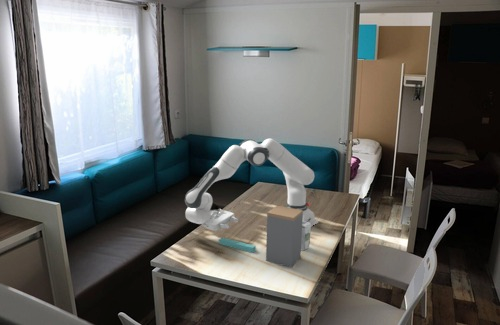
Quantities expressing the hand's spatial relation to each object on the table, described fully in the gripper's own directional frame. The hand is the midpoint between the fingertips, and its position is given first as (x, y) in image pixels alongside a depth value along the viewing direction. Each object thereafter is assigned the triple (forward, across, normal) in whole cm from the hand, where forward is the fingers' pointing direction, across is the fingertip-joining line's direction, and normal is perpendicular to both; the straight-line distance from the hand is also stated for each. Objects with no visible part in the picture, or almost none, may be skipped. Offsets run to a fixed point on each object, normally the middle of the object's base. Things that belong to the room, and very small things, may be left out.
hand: (233, 223), depth 229 cm
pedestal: (+30, 0, +13) cm, 33 cm away
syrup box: (+34, +17, +13) cm, 40 cm away
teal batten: (+3, 0, +13) cm, 14 cm away
